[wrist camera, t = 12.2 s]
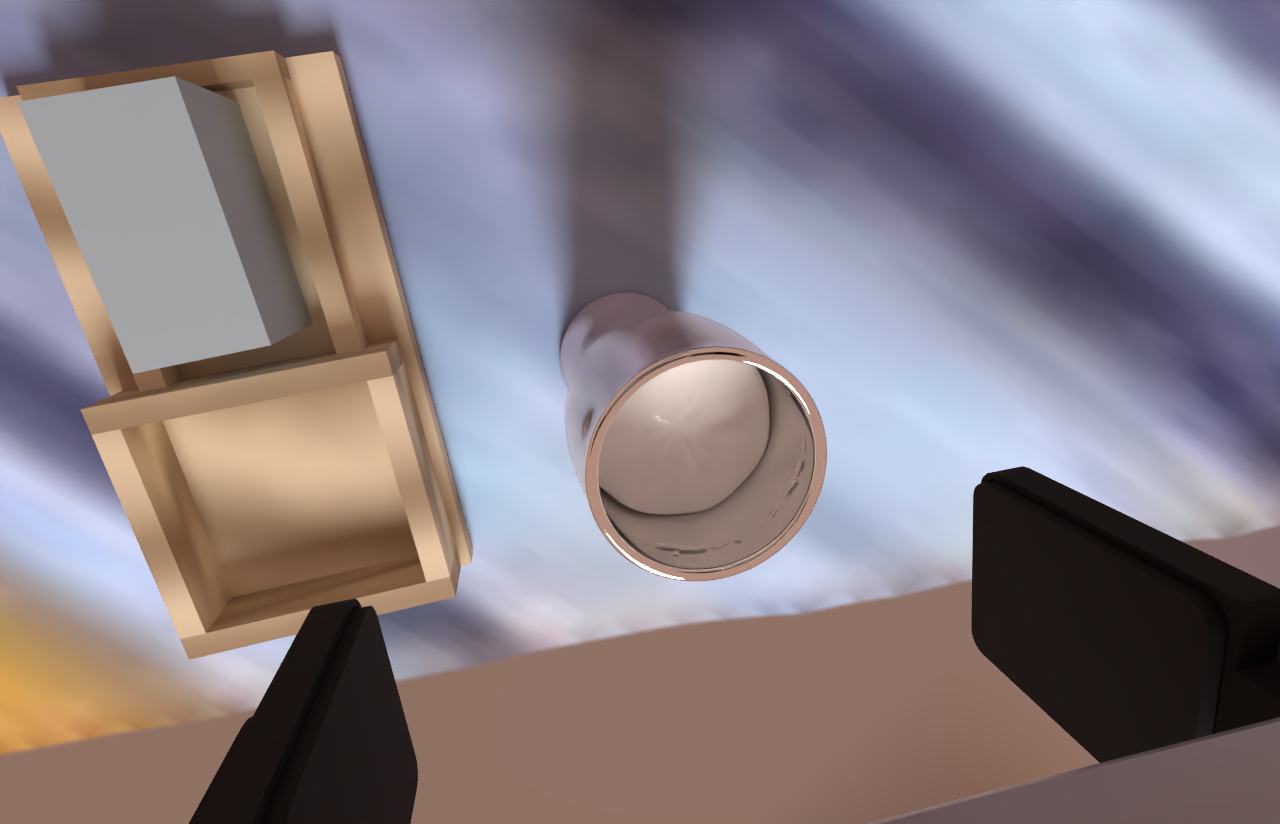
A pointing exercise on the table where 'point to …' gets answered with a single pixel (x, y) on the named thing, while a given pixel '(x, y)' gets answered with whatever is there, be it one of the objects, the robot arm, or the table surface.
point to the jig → (275, 390)
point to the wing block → (170, 218)
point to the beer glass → (687, 438)
